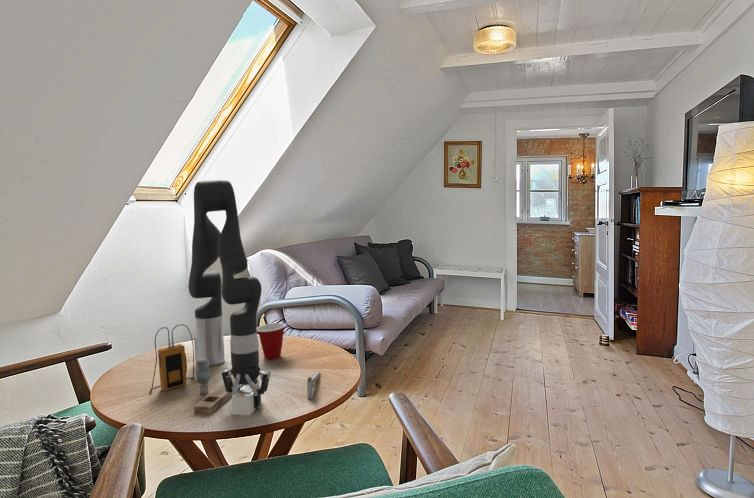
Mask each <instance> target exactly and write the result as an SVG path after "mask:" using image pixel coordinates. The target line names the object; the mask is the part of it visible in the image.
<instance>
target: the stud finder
mask: <svg viewBox="0 0 754 498" xmlns="http://www.w3.org/2000/svg"><path fill="white" fill-rule="evenodd" d="M259 386H260V388H261V385H259ZM256 409H257V408H254V393H253V391H252V389H250V386H249V385H244V386H242V387H241V388H240V390H239V391H238V392H237V393H235V394H234V395H232V396H231V411H232V412H231V415H235V416H236V415H237V416H251V415H252V413H253V412H255V411H256Z"/></svg>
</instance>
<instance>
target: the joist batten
mask: <svg viewBox="0 0 754 498" xmlns="http://www.w3.org/2000/svg"><path fill="white" fill-rule="evenodd" d="M231 378H232V382H233V385H234V383H235V378H234V377H233V376H231ZM243 386H246V384H242V385H241V388H242V387H243ZM232 396H233V394H232V393H231V392H227V391H226V388H225V385H224V382H222V383H221V384H220V385H219V386H217V387H216V388H215V389H213V391H211V392H210V393H208V394H206V396H205V397H204V398H202V399H201V400H200V401H199V402H197V403H196V404H195V405H194V406H193V413H194V414H201V415H203V414H204V415H212V414H213V413H214V412H216V410H218V409H219V408H220V407H221V406H222V405H223V404H224V403H226V402H227V401H228V400H230V398H232Z"/></svg>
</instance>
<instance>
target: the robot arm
mask: <svg viewBox="0 0 754 498" xmlns="http://www.w3.org/2000/svg"><path fill="white" fill-rule="evenodd" d="M222 211H224V212H225V216H226V217H225V222H224V225H223V228H222V229H221V231H220V229H219V228H218V227H217V226H216V225H215V224H214V223H213V221H212V220H211V219H210V218H209V216H208V213H210V212H222ZM238 215H239V213H238V207H237V202H236V195H235V191H234V187H233V185H232V182H230V181H229V180H227V179H212V180H211V179H210V180H209V179H208V180H200V181H197V182H196V183H195V185H194V188H193V233H192V239H191V240H192V243H191V266H190V272H189V276H188V292H189V295H190V296H191V298H193V299H205V298H207V299H208V298H210V300H209V301H207V302H206V303H205V304H203V305H200V306H199V307H198V306H197V308H195V310H194V321H195V322H194V323H195V335H196V336H195V337H194V339H193V347H194V364H196V362H197V360H198V359H202V358H206V359H207V360H208V361H209V367H212V366H218V365H220V364H222V363H224V362H226V360H225V359H226V358H225V356H226V355H225V344H224V342H225V341H224V321H223V305H222V304H223V303H222V300H223V301H224V302H225V303H226V304H228V305H230V306H231V305H239V304H240V305H241V304H244V306H243V308H241V309H239V310H236V311H234V312H233V313H231V314H230V316H229V323H230V324H229V327H230V339H229V340H230V341H229V343H230V345H229V346H230V362H231V363H230V365H231V369H228V368H226V369H225V370H223V371H222V372H221V378H222V381H223V383H224V385H225V388H226V391H227V392H231V393H232V394H233V395H234V394H235V393H237V392H238V391H239V390H240V389H241V388H242V387H241V385H242V384H245V385H246V386H250V389H252V391H253V393H254V408H256V409H258V408H259V407H260V406H261V404H262V395H264V394H265V393H266V392H267V390H268V386H269V383H270V377H271V371H270V370H269V371H268V370H267V371H263V370H261V368H260V351H259V348H260V345H259V344H260V343H259V335H258V332H257V327H258V325H257V314H258V310H259V304H260V301H261V297H262V285H261V282H260V280H259V279H258V278H257V277H255V276H245V277H238V278H237V277H234V276H235V275H237V274H241V273H243V272H245V271H246V270H247V268H248V265H249V263H248V260H247V259H248V258H247V256H246V251H245V249H244V246H243V242H242V238H241V237H242V236H241V230H240V220H239V216H238ZM218 259H219V261H220V265H221V272H222V273H221V274H222V277H221V274H220V273H219V272H218V271H217V270H213V271H212V270H211V271H207V270H208V269H209V268H210V267H211V266H212V265H213V264H215V262H216V261H217V260H218ZM231 377H234V378H235V383H234V385H233V382H232V378H231ZM259 377H260V380H261V384H260V380H259ZM260 386H261V388H260ZM233 395H232V396H233Z"/></svg>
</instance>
